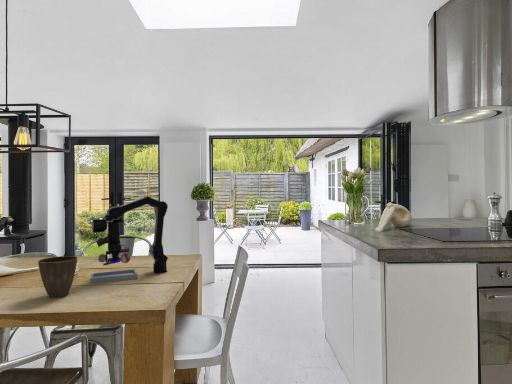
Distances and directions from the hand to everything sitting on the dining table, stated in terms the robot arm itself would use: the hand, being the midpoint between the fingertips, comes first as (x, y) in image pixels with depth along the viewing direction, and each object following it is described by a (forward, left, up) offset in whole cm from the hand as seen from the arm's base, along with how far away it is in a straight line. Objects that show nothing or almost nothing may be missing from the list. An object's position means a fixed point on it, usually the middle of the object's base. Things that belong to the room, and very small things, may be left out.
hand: (114, 260), depth 175 cm
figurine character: (0, 0, -2) cm, 2 cm away
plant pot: (+23, +21, -9) cm, 33 cm away
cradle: (0, 0, -9) cm, 9 cm away
